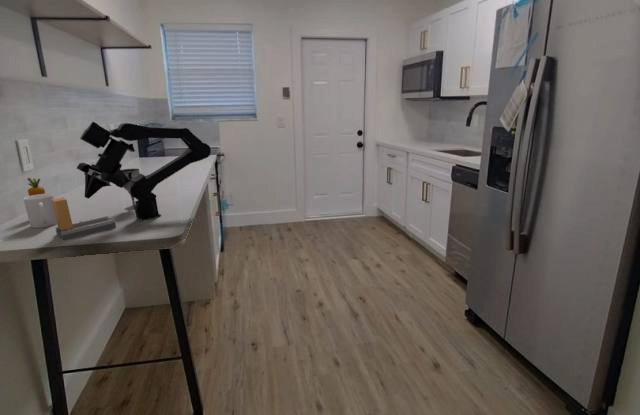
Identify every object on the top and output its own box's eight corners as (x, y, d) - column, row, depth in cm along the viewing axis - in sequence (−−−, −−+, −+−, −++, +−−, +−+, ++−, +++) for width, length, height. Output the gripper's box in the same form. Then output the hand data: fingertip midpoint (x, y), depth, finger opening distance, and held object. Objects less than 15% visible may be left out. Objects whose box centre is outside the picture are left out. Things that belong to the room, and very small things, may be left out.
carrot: (54, 214, 141) (44, 176, 137) (41, 218, 137) (31, 178, 133) (44, 214, 143) (34, 176, 139) (31, 218, 138) (20, 178, 134)
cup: (58, 219, 135) (52, 192, 133) (61, 226, 126) (55, 198, 124) (30, 224, 130) (23, 196, 128) (31, 232, 121) (23, 202, 119)
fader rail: (107, 222, 129) (106, 215, 128) (116, 227, 123) (114, 219, 123) (56, 234, 118) (55, 226, 118) (63, 240, 113) (61, 232, 112)
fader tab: (70, 227, 120) (63, 197, 117) (75, 230, 116) (67, 199, 113) (57, 230, 117) (49, 199, 114) (61, 233, 114) (53, 201, 111)
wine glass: (118, 210, 145) (111, 172, 141) (134, 204, 152) (127, 168, 148) (135, 210, 142) (128, 172, 138) (149, 205, 150) (143, 168, 146)
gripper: (148, 173, 125) (123, 214, 121) (116, 163, 134) (93, 201, 131) (120, 156, 116) (93, 200, 112) (89, 146, 125) (63, 187, 121)
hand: (86, 197), depth 119 cm, fingers closed
